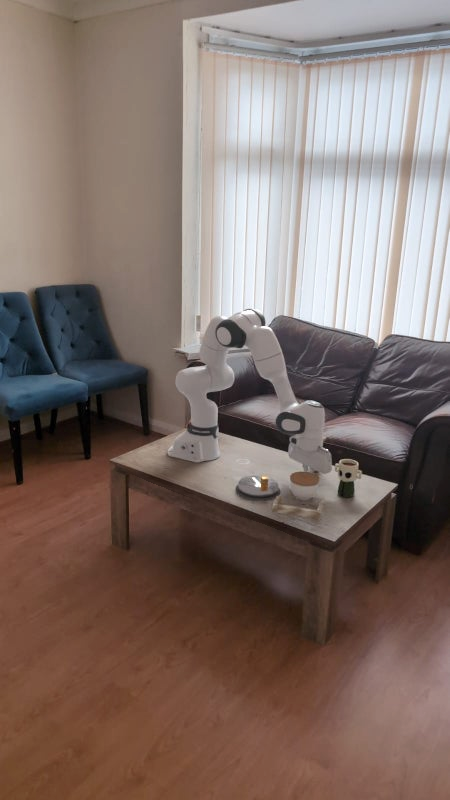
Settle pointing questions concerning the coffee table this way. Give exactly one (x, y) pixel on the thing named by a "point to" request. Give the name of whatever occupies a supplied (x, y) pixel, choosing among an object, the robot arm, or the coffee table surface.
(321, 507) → the cream u-shaped bracket
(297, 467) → the coffee table surface
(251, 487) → the turntable
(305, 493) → the lidded jar
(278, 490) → the base
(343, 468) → the character mug
